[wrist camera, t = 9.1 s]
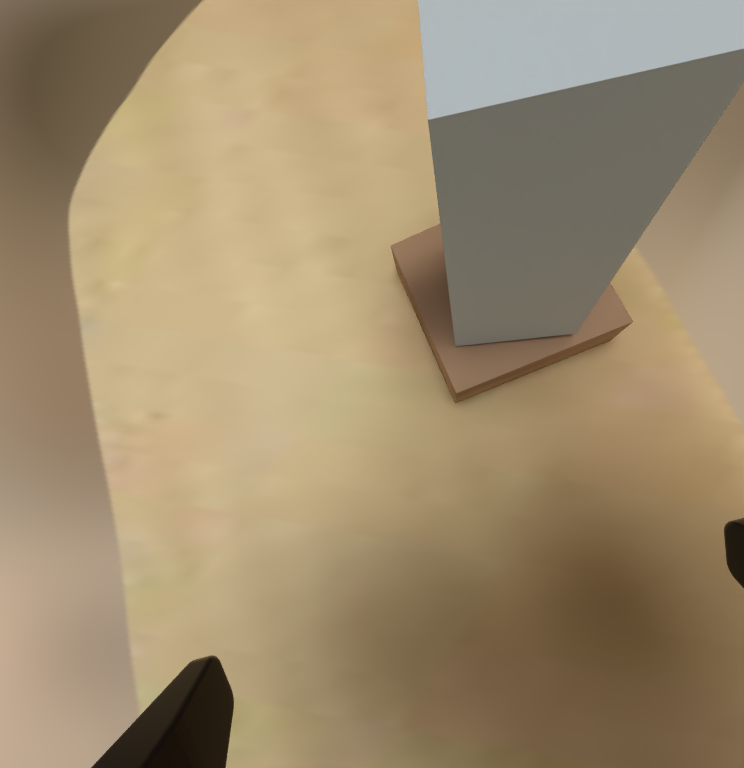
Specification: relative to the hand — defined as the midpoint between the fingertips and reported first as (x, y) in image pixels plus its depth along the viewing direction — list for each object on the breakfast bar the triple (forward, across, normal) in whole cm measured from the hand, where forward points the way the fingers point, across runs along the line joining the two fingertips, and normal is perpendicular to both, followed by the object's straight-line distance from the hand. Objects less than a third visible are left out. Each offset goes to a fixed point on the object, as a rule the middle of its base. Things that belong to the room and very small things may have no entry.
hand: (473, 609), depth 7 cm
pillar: (+13, -6, -4) cm, 15 cm away
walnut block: (+16, -6, -3) cm, 17 cm away
